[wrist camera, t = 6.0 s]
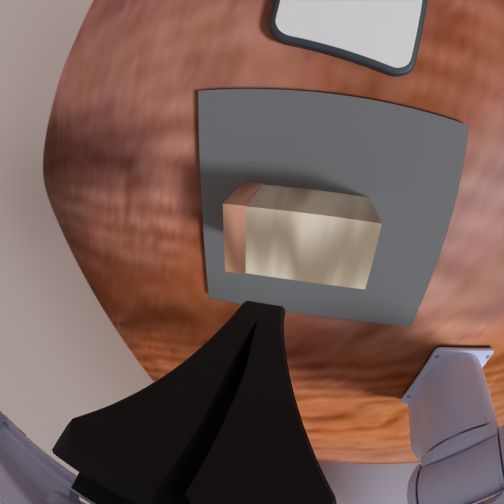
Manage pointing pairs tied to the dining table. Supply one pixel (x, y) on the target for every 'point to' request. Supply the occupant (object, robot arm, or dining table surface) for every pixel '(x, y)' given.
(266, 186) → the maple block
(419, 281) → the rubber mat
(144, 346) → the dining table surface
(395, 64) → the phone case
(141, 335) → the dining table surface
